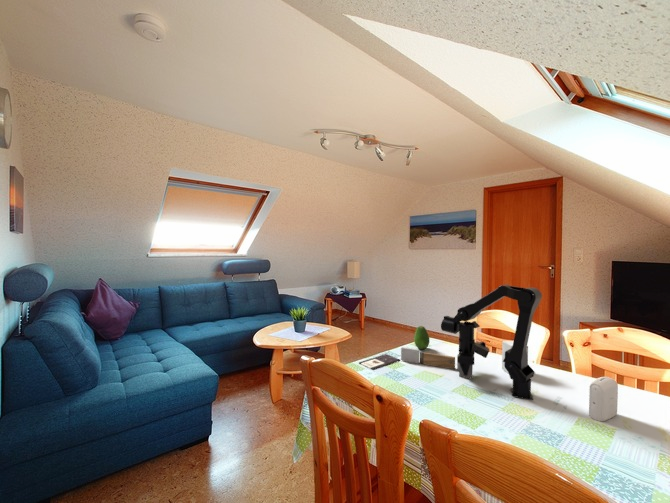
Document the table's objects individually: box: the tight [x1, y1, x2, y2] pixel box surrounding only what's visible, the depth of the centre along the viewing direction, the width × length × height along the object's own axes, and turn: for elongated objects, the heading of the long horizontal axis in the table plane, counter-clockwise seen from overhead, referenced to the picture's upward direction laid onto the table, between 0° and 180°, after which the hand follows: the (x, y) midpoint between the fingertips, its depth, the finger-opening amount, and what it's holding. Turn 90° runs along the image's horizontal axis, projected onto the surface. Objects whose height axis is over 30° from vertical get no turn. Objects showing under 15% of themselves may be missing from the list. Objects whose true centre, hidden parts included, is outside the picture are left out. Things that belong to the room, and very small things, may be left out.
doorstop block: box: [458, 364, 474, 380], centre depth 128 cm, size 4×5×6 cm
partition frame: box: [400, 346, 459, 371], centre depth 140 cm, size 2×26×6 cm, turn 66°
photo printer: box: [588, 376, 619, 422], centre depth 99 cm, size 10×4×12 cm, turn 116°
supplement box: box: [501, 340, 529, 375], centre depth 132 cm, size 7×7×13 cm
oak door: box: [419, 350, 456, 370], centre depth 139 cm, size 2×15×5 cm, turn 66°
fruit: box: [413, 325, 430, 350], centre depth 161 cm, size 8×8×12 cm
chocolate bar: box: [358, 353, 401, 371], centre depth 143 cm, size 9×1×18 cm
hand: (465, 373), depth 128 cm, fingers closed on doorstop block, 4 cm apart
